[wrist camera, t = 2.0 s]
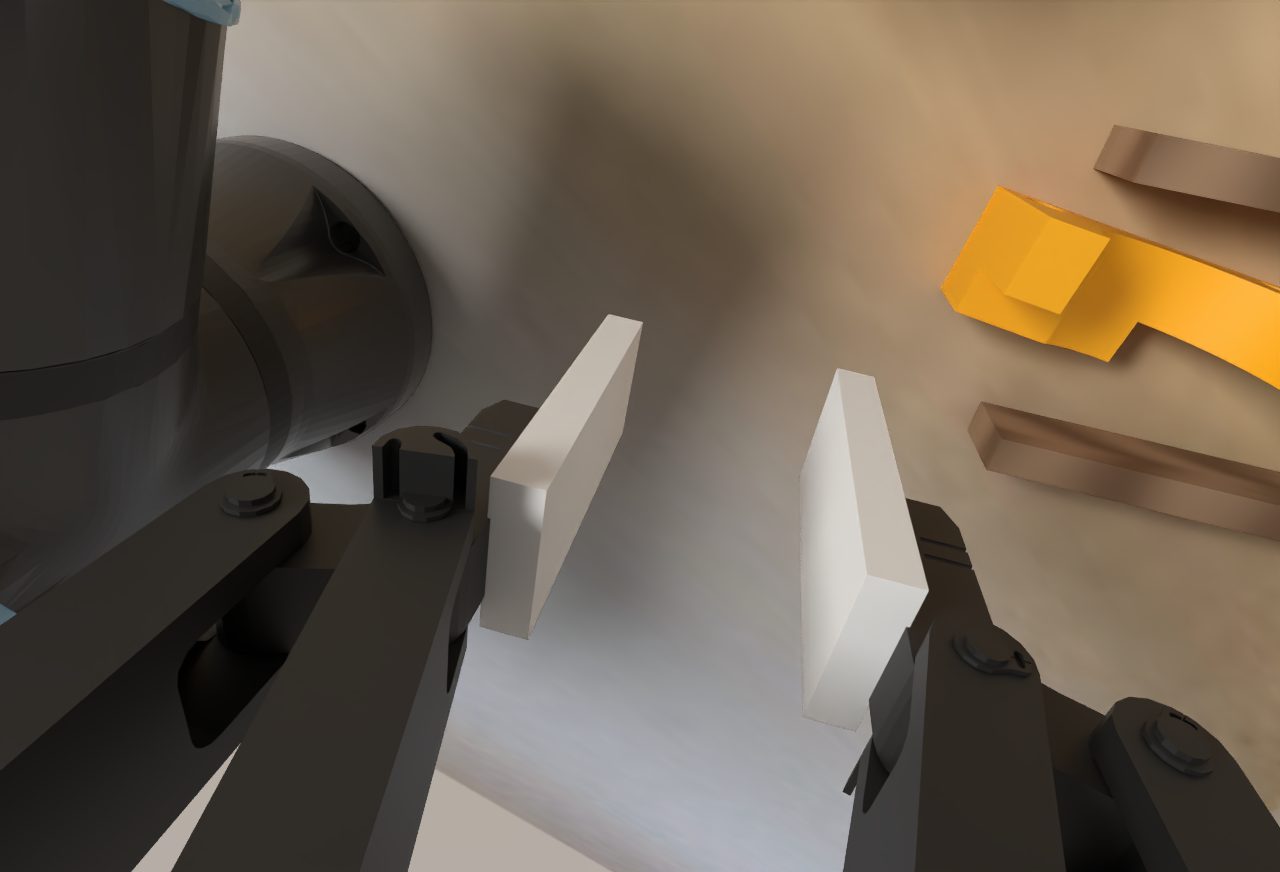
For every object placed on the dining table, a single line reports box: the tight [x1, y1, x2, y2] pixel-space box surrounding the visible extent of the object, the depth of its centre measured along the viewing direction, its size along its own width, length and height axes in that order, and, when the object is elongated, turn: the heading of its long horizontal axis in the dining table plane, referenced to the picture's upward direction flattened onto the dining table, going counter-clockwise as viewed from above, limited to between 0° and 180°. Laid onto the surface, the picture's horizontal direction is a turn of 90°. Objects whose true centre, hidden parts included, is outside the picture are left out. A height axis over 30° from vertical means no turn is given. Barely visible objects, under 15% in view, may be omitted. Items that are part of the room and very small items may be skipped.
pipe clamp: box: [941, 186, 1280, 390], centre depth 25 cm, size 12×4×6 cm, turn 72°
